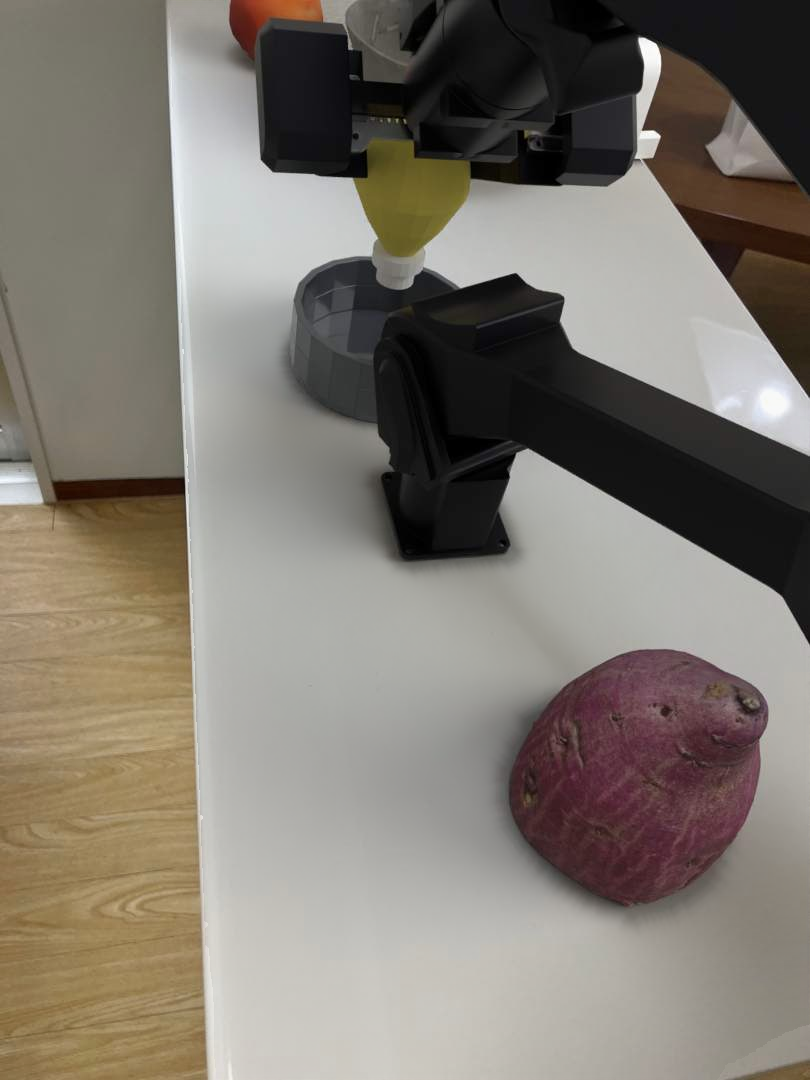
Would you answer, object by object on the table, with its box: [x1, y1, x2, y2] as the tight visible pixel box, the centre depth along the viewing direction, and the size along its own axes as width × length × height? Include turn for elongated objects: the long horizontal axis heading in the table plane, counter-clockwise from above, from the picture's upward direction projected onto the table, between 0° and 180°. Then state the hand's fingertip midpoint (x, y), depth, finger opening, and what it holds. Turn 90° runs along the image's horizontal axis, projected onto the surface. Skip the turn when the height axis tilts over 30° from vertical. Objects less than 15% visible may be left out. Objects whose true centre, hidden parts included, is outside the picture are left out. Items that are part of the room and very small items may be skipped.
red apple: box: [228, 0, 324, 62], centre depth 86 cm, size 9×9×8 cm
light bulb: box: [352, 118, 471, 290], centre depth 51 cm, size 7×7×10 cm
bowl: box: [344, 0, 410, 121], centre depth 78 cm, size 19×19×10 cm
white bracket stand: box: [634, 37, 662, 160], centre depth 84 cm, size 5×10×10 cm, turn 114°
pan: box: [289, 255, 461, 424], centre depth 58 cm, size 12×12×4 cm
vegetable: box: [509, 648, 770, 908], centre depth 36 cm, size 10×10×15 cm
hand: (406, 165), depth 51 cm, fingers closed on light bulb, 6 cm apart
